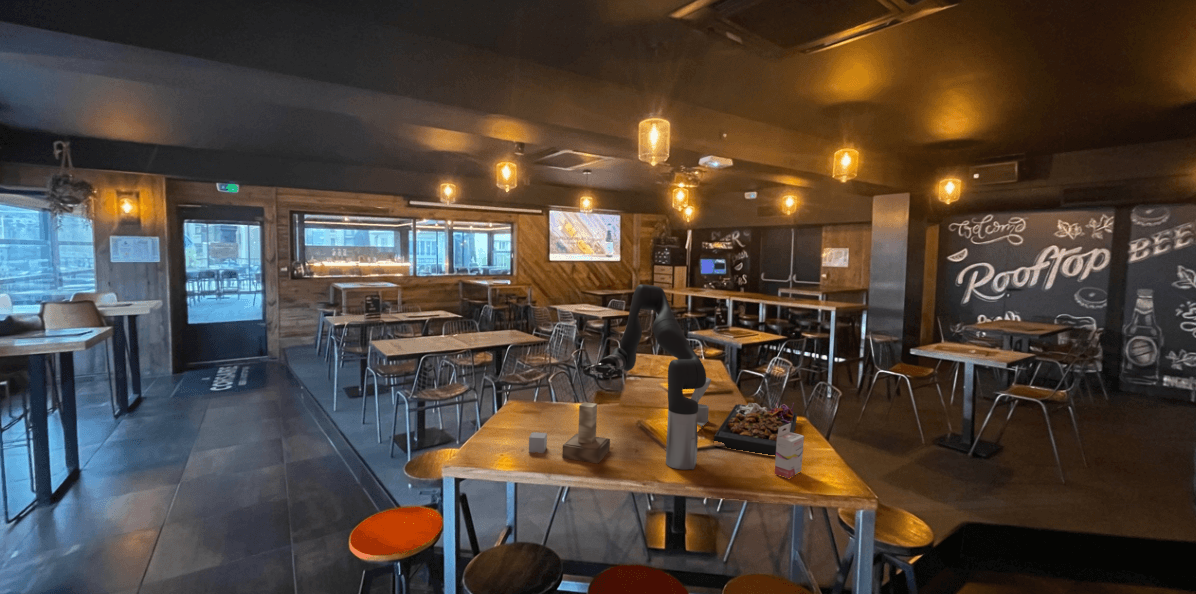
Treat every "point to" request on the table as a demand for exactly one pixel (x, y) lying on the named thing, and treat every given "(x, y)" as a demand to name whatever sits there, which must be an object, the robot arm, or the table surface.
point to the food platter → (755, 427)
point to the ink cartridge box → (788, 452)
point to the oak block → (587, 423)
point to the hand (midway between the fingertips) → (597, 373)
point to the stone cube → (538, 442)
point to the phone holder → (701, 408)
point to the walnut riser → (586, 449)
